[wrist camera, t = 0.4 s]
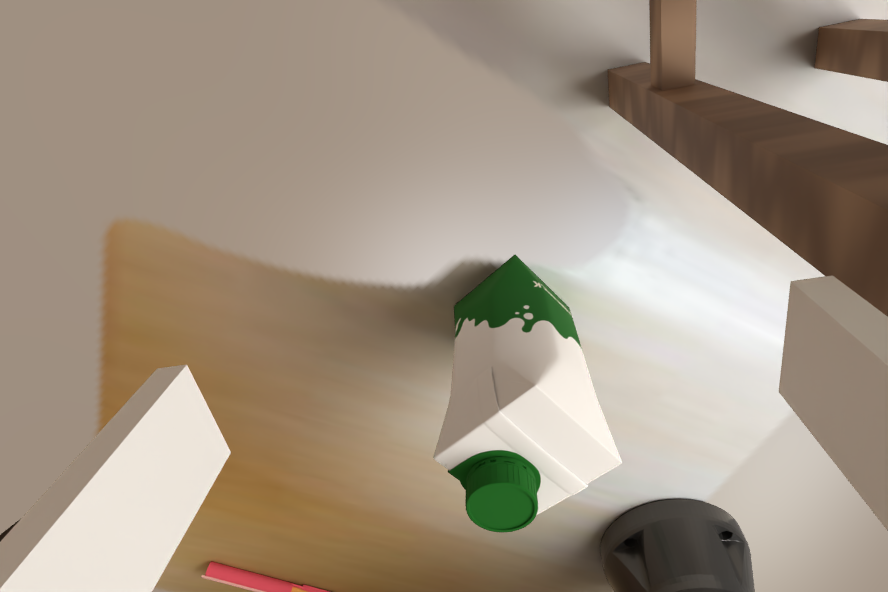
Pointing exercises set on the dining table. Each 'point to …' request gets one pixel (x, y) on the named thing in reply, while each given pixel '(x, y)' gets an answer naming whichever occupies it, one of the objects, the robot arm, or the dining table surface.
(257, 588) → the red long bar
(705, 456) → the dining table surface
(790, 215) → the walnut stool
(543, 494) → the milk carton
